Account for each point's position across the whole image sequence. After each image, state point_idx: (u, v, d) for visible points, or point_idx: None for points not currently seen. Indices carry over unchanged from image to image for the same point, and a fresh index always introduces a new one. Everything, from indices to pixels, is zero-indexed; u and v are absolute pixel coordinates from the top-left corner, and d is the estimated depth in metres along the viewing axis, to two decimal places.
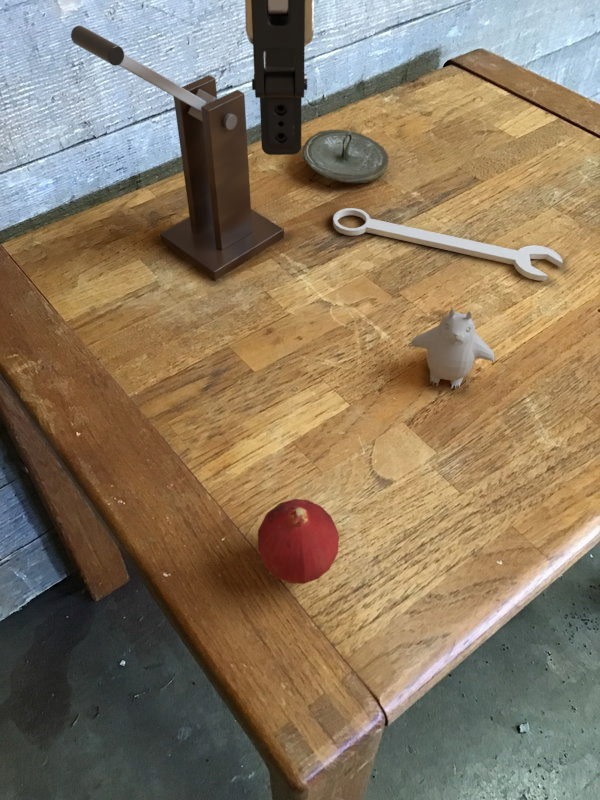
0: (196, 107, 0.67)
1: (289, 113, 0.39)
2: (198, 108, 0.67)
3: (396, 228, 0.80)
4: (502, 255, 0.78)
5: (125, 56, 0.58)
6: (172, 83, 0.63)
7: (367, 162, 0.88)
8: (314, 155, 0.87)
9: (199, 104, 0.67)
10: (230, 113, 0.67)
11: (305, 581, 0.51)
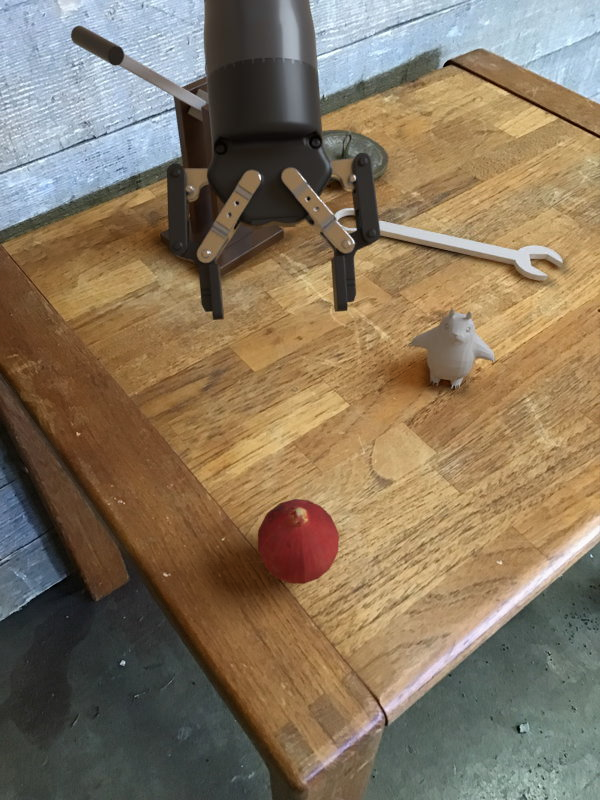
0: (196, 107, 0.67)
1: None
2: (198, 108, 0.67)
3: (396, 228, 0.80)
4: (502, 255, 0.78)
5: (125, 56, 0.58)
6: (172, 83, 0.63)
7: None
8: None
9: (199, 104, 0.67)
10: None
11: (305, 581, 0.51)
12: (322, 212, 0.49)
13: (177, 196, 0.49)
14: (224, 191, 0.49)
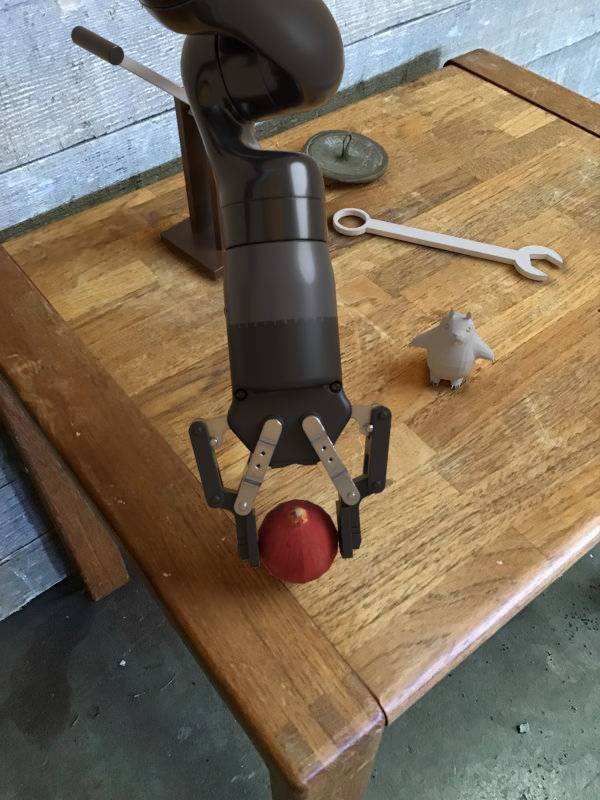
0: None
1: None
2: None
3: (396, 228, 0.80)
4: (502, 255, 0.78)
5: (125, 56, 0.58)
6: (172, 83, 0.63)
7: (367, 162, 0.88)
8: (314, 155, 0.87)
9: None
10: None
11: (305, 581, 0.51)
12: (335, 463, 0.49)
13: (204, 453, 0.49)
14: (244, 436, 0.49)
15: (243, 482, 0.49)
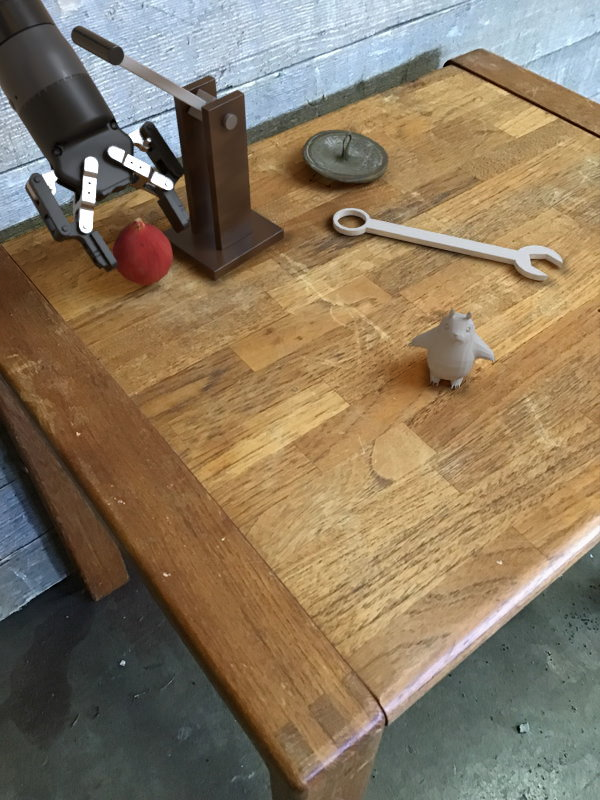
0: (196, 107, 0.67)
1: None
2: (198, 108, 0.67)
3: (396, 228, 0.80)
4: (502, 255, 0.78)
5: (125, 56, 0.58)
6: (172, 83, 0.63)
7: (367, 162, 0.88)
8: (314, 155, 0.87)
9: (199, 104, 0.67)
10: (230, 113, 0.67)
11: (163, 271, 0.72)
12: (144, 168, 0.70)
13: (46, 195, 0.65)
14: (74, 180, 0.67)
15: (81, 208, 0.67)
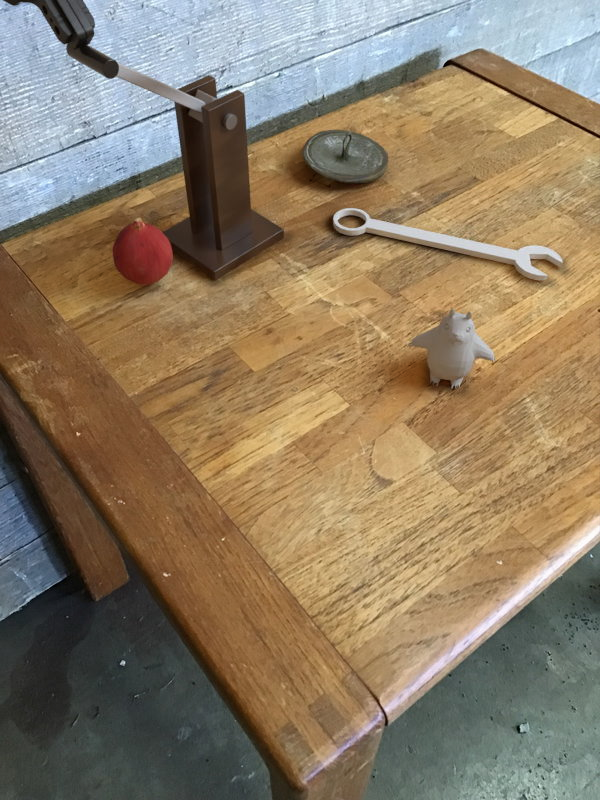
0: (196, 109, 0.67)
1: None
2: (198, 110, 0.67)
3: (396, 228, 0.80)
4: (502, 255, 0.78)
5: (121, 66, 0.59)
6: (170, 88, 0.63)
7: (367, 162, 0.88)
8: (314, 155, 0.87)
9: (198, 106, 0.67)
10: (230, 113, 0.67)
11: (163, 271, 0.72)
12: None
13: None
14: None
15: None
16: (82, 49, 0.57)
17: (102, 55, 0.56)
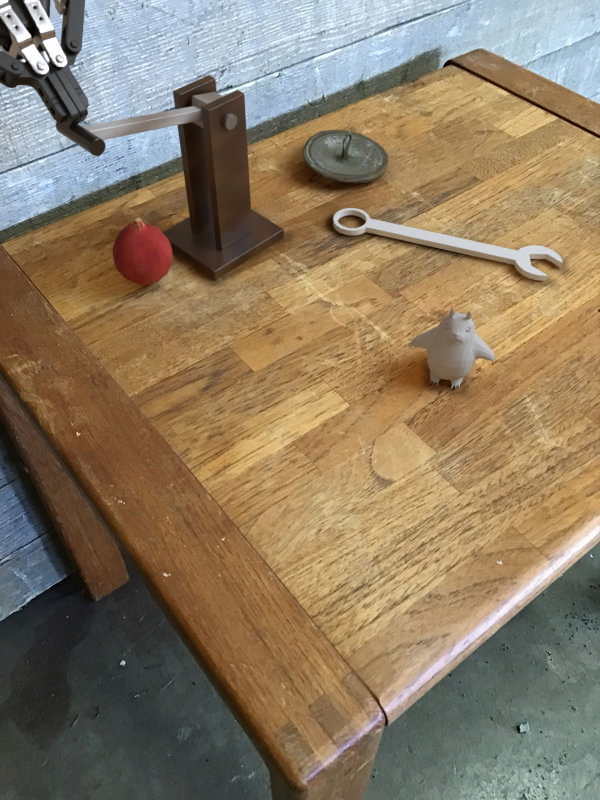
0: (194, 120, 0.67)
1: None
2: (197, 119, 0.67)
3: (396, 228, 0.80)
4: (502, 255, 0.78)
5: (108, 129, 0.61)
6: (162, 118, 0.65)
7: (367, 162, 0.88)
8: (314, 155, 0.87)
9: (196, 116, 0.67)
10: (230, 113, 0.67)
11: (163, 271, 0.72)
12: (45, 23, 0.57)
13: None
14: None
15: (22, 50, 0.56)
16: (69, 131, 0.60)
17: (86, 136, 0.59)
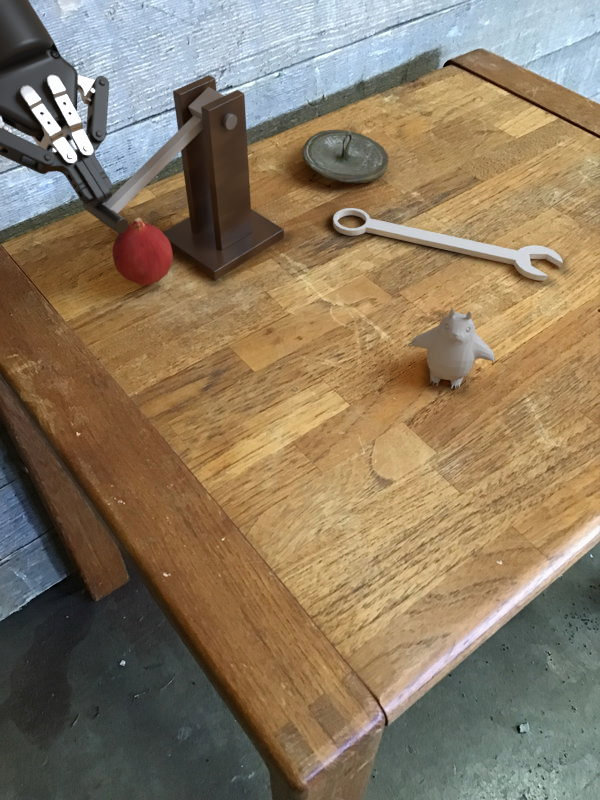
0: (198, 132, 0.68)
1: None
2: (200, 130, 0.68)
3: (396, 228, 0.80)
4: (502, 255, 0.78)
5: (125, 196, 0.66)
6: (167, 153, 0.67)
7: (367, 162, 0.88)
8: (314, 155, 0.87)
9: (198, 128, 0.68)
10: (230, 113, 0.67)
11: (163, 271, 0.72)
12: (73, 117, 0.63)
13: (9, 138, 0.61)
14: (10, 111, 0.61)
15: (53, 142, 0.62)
16: (94, 214, 0.66)
17: (108, 220, 0.65)
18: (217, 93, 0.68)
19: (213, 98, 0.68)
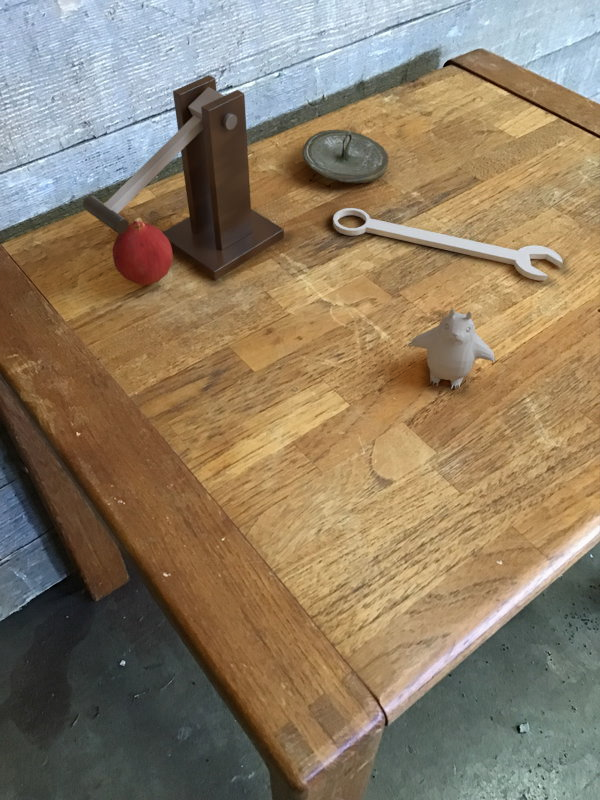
0: (198, 132, 0.68)
1: None
2: (200, 130, 0.69)
3: (396, 228, 0.80)
4: (502, 255, 0.78)
5: (125, 196, 0.66)
6: (167, 153, 0.67)
7: (367, 162, 0.88)
8: (314, 155, 0.87)
9: (198, 128, 0.68)
10: (230, 113, 0.67)
11: (163, 271, 0.72)
12: None
13: None
14: None
15: None
16: (94, 215, 0.66)
17: (109, 220, 0.65)
18: (217, 93, 0.68)
19: (213, 98, 0.68)
